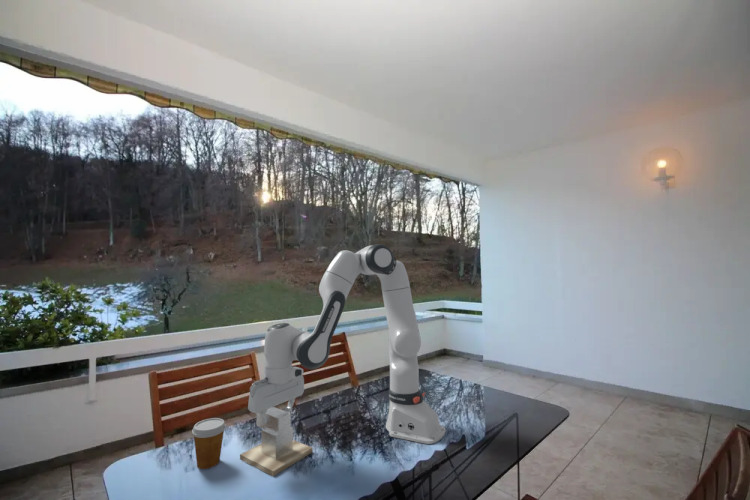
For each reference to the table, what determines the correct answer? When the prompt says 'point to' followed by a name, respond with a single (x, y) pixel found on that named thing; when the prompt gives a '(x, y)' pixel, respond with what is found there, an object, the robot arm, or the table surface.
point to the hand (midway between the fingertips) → (277, 417)
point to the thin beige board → (275, 465)
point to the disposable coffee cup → (208, 442)
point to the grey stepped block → (276, 433)
